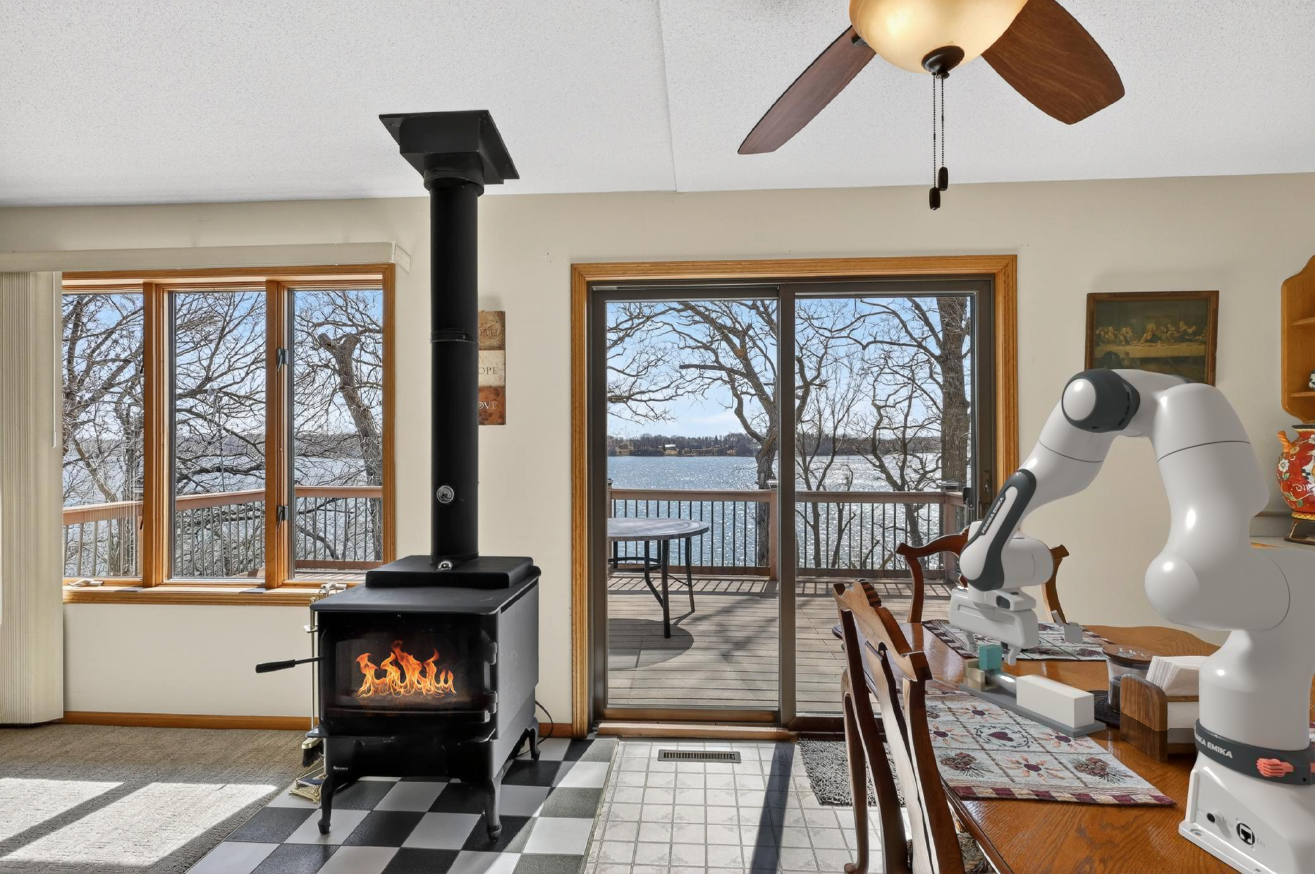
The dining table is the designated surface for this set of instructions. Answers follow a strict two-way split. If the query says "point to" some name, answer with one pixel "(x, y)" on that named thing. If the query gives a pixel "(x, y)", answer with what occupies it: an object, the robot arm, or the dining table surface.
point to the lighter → (1069, 629)
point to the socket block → (976, 675)
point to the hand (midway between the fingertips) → (990, 657)
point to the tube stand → (1046, 704)
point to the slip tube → (995, 668)
